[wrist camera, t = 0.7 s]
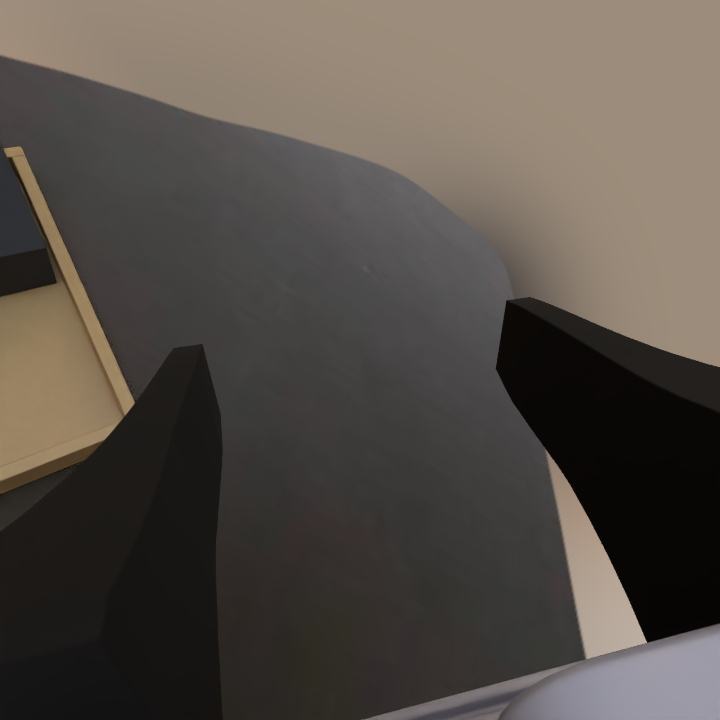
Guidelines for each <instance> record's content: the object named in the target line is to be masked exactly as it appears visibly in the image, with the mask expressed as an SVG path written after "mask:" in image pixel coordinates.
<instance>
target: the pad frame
mask: <svg viewBox="0 0 720 720" xmlns="http://www.w3.org/2000/svg"><path fill="white" fill-rule="evenodd" d="M4 151H5V154H6V156H7V158H8V160H9V163H10V165H11V167H12V170H13V172H14V174H15V176H16V179H17V181H18V183H19V186H20V188H21V190H22V192H23V195H24V197H25V199H26V202H27V204H28V206H29V209H30V211H31V213H32V215H33V218H34V220H35V222H36V225H37V227H38V229H39V231H40V234H41V236H42V238H43V241H44V243H45V245H46V248H47V251H48V254H49V258H50V261H51V264H52V268H53V271H54V275H55V278H56V281H57V283H56V284H52V285H48V286H44V287H39V288H35V289H31V290H27V291H23V292H18V293H14V294H10V295H6V296H2V297H0V494H2V493H4V492H7V491H9V490H12V489H14V488H17V487H19V486H21V485H24V484H26V483H29V482H31V481H34V480H36V479H39V478H41V477H44V476H46V475H49V474H51V473H54V472H56V471H59V470H61V469H64V468H66V467H68V466H71V465H73V464H76V463H78V462H81V461H83V460H86V459H87V458H88V457H89V456H90V455H91V454H92V453H93V452H94V451H95V450H96V449H97V448H98V446H99V445H100V444H101V443H102V442H103V441H104V440H105V439H106V438H107V437H108V435H109V434H110V433H111V432H112V431H113V429H114V428H115V427H116V426H117V425H118V423H119V422H120V421H121V420H122V419H123V417H124V416H125V415H126V414H127V413H128V411H129V410H130V409H131V407H132V406H133V405H134V403H135V402H134V400H133V398H132V395H131V393H130V391H129V389H128V386H127V384H126V382H125V380H124V377H123V375H122V373H121V371H120V368H119V366H118V364H117V362H116V359H115V357H114V355H113V353H112V350H111V348H110V346H109V344H108V341H107V339H106V337H105V335H104V332H103V330H102V328H101V326H100V323H99V321H98V319H97V317H96V314H95V312H94V310H93V308H92V305H91V303H90V301H89V299H88V296H87V294H86V292H85V290H84V287H83V285H82V283H81V281H80V278H79V276H78V274H77V272H76V269H75V267H74V265H73V263H72V260H71V258H70V256H69V254H68V251H67V249H66V247H65V245H64V242H63V240H62V238H61V236H60V233H59V231H58V229H57V227H56V224H55V222H54V220H53V218H52V215H51V213H50V211H49V209H48V206H47V204H46V202H45V200H44V197H43V195H42V193H41V191H40V188H39V186H38V184H37V182H36V179H35V177H34V175H33V173H32V170H31V168H30V166H29V164H28V161H27V159H26V157H25V155H24V152H23V150H22V148H21V147H13V148H4Z"/></svg>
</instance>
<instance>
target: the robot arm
mask: <svg viewBox="0 0 720 720" xmlns="http://www.w3.org/2000/svg"><path fill="white" fill-rule="evenodd" d="M496 370H497V372H498V374H499V376H500V378H501V380H502V382H503V385H504V387H505V389H506V390H507V392H508V394H509V396H510V398H511V400H512V402H513V403H514V405H515V406H516V408H517V409H518V410H519V412H520V413H521V415H522V416H523V418H524V419H525V421H526V422H527V423H528V425H529V426H530V428H531V429H532V430H533V432H534V433H535V435H536V436H537V437H538V439H539V440H540V442H541V443H542V444H543V446H544V447H545V449H546V450H547V451H548V453H549V454H550V456H551V457H552V458H553V460H554V461H555V463H556V464H557V465H558V467H559V468H560V470H561V471H562V473H563V474H564V476H565V478H566V479H567V480H568V482H569V484H570V485H571V487H572V489H573V491H574V492H575V494H576V496H577V498H578V500H579V501H580V503H581V505H582V506H583V509H584V510H585V512H586V514H587V516H588V518H589V519H590V521H591V523H592V525H593V527H594V529H595V531H596V533H597V535H598V537H599V539H600V541H601V543H602V545H603V546H604V549H605V551H606V552H607V554H608V556H609V558H610V561H611V563H612V565H613V567H614V569H615V571H616V573H617V576H618V578H619V580H620V582H621V584H622V586H623V588H624V590H625V593H626V595H627V597H628V599H629V601H630V604H631V606H632V608H633V611H634V613H635V615H636V618H637V620H638V622H639V625H640V627H641V629H642V632H643V634H644V636H645V639H646V641H647V643H645V644H642V645H638V646H634V647H631V648H627V649H623V650H619V651H616V652H612V653H608V654H604V655H601V656H598V657H593V658H590V659H586V660H582V661H579V662H575V663H571V664H567V665H564V666H560V667H556V668H553V669H549V670H545V671H541V672H538V673H534V674H530V675H527V676H523V677H519V678H515V679H512V680H508V681H504V682H501V683H497V684H493V685H490V686H486V687H482V688H478V689H475V690H471V691H467V692H464V693H460V694H456V695H452V696H449V697H445V698H441V699H438V700H434V701H430V702H426V703H423V704H419V705H415V706H412V707H408V708H404V709H401V710H397V711H393V712H389V713H386V714H382V715H378V716H375V717H371V718H367V719H363V720H720V367H717V366H713V365H708V364H705V363H702V362H699V361H696V360H692V359H689V358H685V357H682V356H679V355H676V354H673V353H669V352H667V351H664V350H661V349H658V348H655V347H652V346H650V345H647V344H645V343H642V342H639V341H637V340H634V339H631V338H629V337H626V336H623V335H621V334H619V333H616V332H614V331H611V330H609V329H607V328H604V327H602V326H599V325H597V324H595V323H592V322H590V321H588V320H586V319H583V318H581V317H579V316H576V315H574V314H572V313H569V312H567V311H565V310H563V309H560V308H558V307H555V306H553V305H551V304H548V303H545V302H543V301H540V300H537V299H534V298H531V297H528V298H521V299H514V300H507V301H506V307H505V313H504V320H503V326H502V332H501V339H500V345H499V352H498V358H497V365H496ZM222 454H223V450H222V430H221V414H220V410H219V406H218V403H217V399H216V395H215V391H214V387H213V383H212V379H211V376H210V372H209V368H208V364H207V360H206V356H205V352H204V349H203V345H202V344H200V345H193V346H186V347H179V348H174V349H173V350H172V351H171V353H170V354H169V355H168V357H167V358H166V360H165V361H164V363H163V364H162V366H161V367H160V368H159V370H158V371H157V373H156V374H155V376H154V377H153V379H152V380H151V382H150V383H149V384H148V386H147V387H146V389H145V390H144V391H143V393H142V394H141V395H140V397H139V398H138V399H137V401H136V402H135V403H134V405H133V406H132V407H131V409H130V410H129V411H128V413H127V414H126V415H125V416H124V417H123V419H122V420H121V421H120V422H119V423H118V425H117V426H116V427H115V428H114V429H113V431H112V432H111V433H110V434H109V435H108V437H107V438H106V439H105V440H104V441H103V442H102V443H101V444H100V445H99V446H98V448H97V449H96V450H95V451H94V452H93V453H92V454H91V455H90V456H89V457H88V458H87V459H86V460H85V461H84V462H83V463H82V464H81V465H80V466H79V467H77V468H76V469H75V470H74V471H73V472H72V473H71V474H70V475H69V476H68V477H67V478H66V479H65V480H63V481H62V482H61V483H60V484H59V485H58V486H56V487H55V488H54V489H53V490H52V491H51V492H49V493H48V494H47V495H46V496H45V497H43V498H42V499H41V500H40V501H39V502H38V503H36V504H35V505H34V506H33V507H32V508H31V509H29V510H28V511H27V512H26V513H24V514H23V515H22V516H21V517H19V518H18V519H17V520H15V521H14V522H13V523H11V524H10V525H9V526H7V527H6V528H5V529H3V530H2V531H1V532H0V720H223V716H222V701H221V682H220V664H219V644H218V620H217V593H216V559H215V558H216V534H217V521H218V508H219V495H220V482H221V469H222Z"/></svg>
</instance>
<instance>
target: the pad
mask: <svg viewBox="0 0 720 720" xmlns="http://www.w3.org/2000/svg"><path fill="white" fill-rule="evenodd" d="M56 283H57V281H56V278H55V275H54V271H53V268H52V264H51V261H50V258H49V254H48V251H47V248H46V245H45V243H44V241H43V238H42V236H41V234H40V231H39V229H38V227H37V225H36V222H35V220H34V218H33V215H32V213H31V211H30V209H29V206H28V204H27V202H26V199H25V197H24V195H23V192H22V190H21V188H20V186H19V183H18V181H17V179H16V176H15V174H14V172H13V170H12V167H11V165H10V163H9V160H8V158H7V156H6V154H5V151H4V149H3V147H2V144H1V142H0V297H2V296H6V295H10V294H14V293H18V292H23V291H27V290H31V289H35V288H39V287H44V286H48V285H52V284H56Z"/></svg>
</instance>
